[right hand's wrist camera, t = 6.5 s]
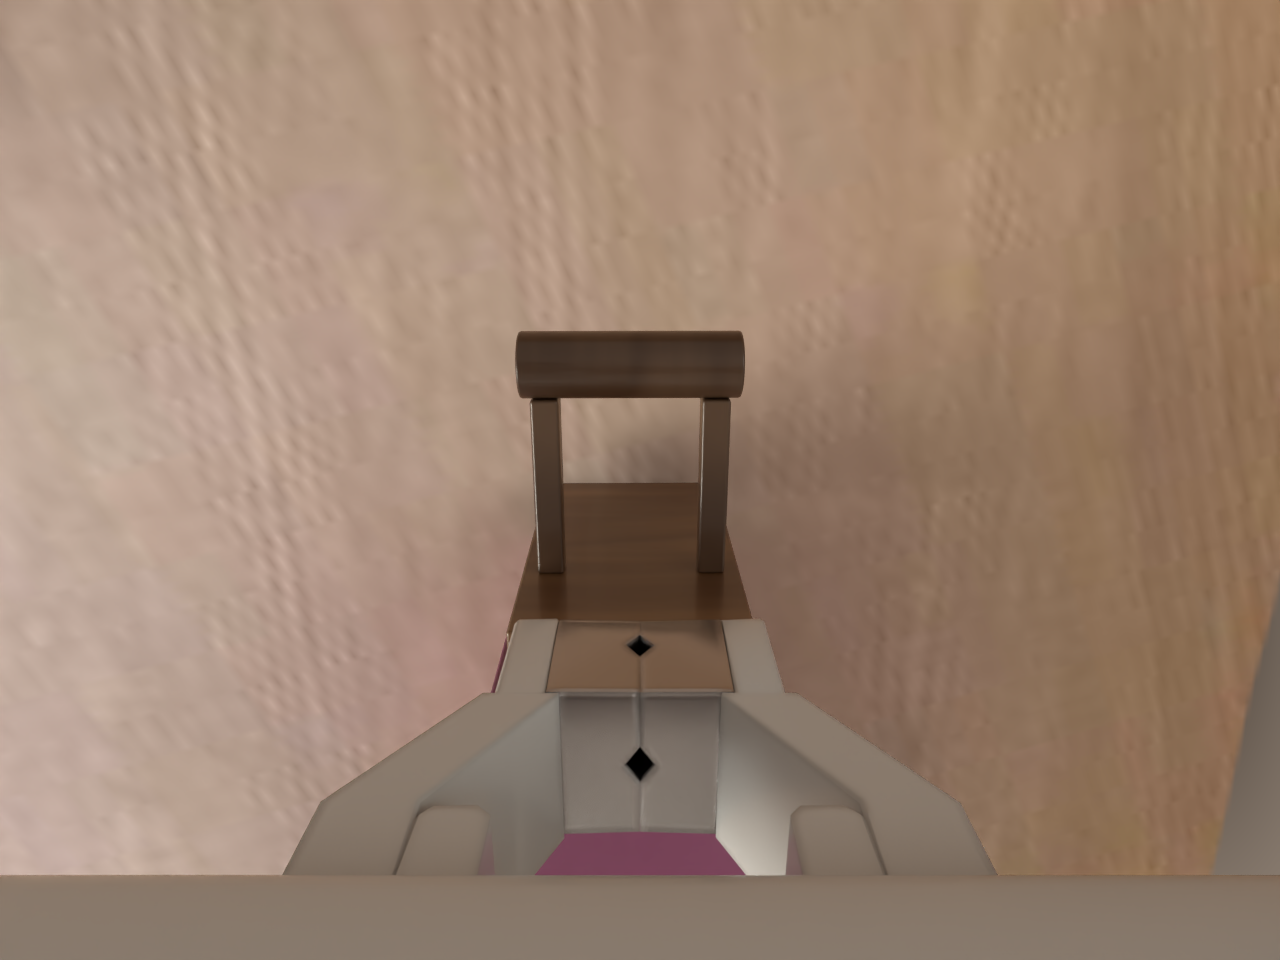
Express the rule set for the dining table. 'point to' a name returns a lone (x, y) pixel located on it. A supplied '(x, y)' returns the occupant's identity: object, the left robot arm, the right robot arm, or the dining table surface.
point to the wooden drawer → (630, 512)
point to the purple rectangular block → (636, 850)
